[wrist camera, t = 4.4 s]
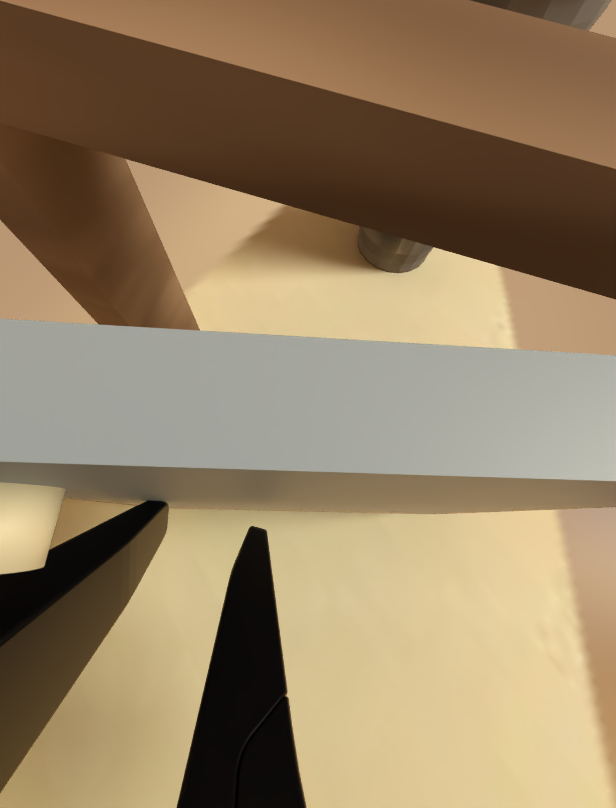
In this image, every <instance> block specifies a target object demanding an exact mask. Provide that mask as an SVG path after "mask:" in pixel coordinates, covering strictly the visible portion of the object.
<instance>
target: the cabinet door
mask: <svg viewBox="0 0 616 808" xmlns="http://www.w3.org/2000/svg"><path fill="white" fill-rule="evenodd" d="M63 498H70V499H80V500H90V501H100V502H110V503H120V504H129V505H139V504H141V503H143V502H145V501H147V500H150V501H163V502H166V503H168V505H169V508H191V509H233V510H276V511H318V512H361V513H404V514H449V513H474V512H500V511H526V510H552V509H577V508H602V507H616V355H601V354H584V353H568V352H551V351H534V350H517V349H500V348H484V347H467V346H450V345H433V344H416V343H400V342H383V341H366V340H349V339H332V338H316V337H299V336H282V335H265V334H248V333H232V332H215V331H198V330H181V329H165V328H148V327H131V326H114V325H97V324H79V323H63V322H46V321H29V320H13V319H0V574H8V573H16V572H23V571H30V570H35V569H39V568H42V567H44V566H45V562H46V558H47V555H48V551H49V548H50V544H51V541H52V537H53V534H54V530H55V527H56V523H57V520H58V516H59V513H60V509H61V506H62V502H63Z"/></svg>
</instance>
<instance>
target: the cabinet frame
mask: <svg viewBox="0 0 616 808" xmlns="http://www.w3.org/2000/svg"><path fill="white" fill-rule="evenodd" d="M125 159H128V160H131V161H135V162H138V163H142V164H146V165H149V166H152V167H156V168H159V169H163V170H167V171H170V172H173V173H177V174H181V175H184V176H187V177H191V178H194V179H198V180H201V181H205V182H208V183H212V184H215V185H219V186H222V187H226V188H229V189H233V190H236V191H240V192H243V193H247V194H250V195H254V196H257V197H261V198H264V199H268V200H271V201H274V202H278V203H281V204H285V205H288V206H292V207H295V208H299V209H302V210H306V211H309V212H313V213H316V214H320V215H323V216H327V217H330V218H334V219H337V220H341V221H344V222H348V223H351V224H355V225H358V226H362V227H365V228H369V229H372V230H376V231H379V232H383V233H386V234H390V235H393V236H397V237H400V238H404V239H407V240H411V241H414V242H418V243H421V244H425V245H428V246H431V247H435V248H438V249H442V250H445V251H449V252H452V253H456V254H459V255H463V256H466V257H470V258H473V259H477V260H480V261H484V262H487V263H491V264H494V265H498V266H501V267H505V268H509V269H512V270H515V271H519V272H522V273H526V274H529V275H533V276H536V277H540V278H543V279H547V280H550V281H554V282H557V283H561V284H564V285H568V286H571V287H575V288H578V289H582V290H585V291H588V292H592V293H596V294H599V295H602V296H606V297H609V298H613V299H616V38H613V37H609V36H605V35H601V34H598V33H594V32H590V31H586V30H582V29H578V28H574V27H571V26H567V25H563V24H559V23H555V22H551V21H547V20H544V19H540V18H536V17H532V16H528V15H524V14H521V13H517V12H513V11H509V10H505V9H501V8H497V7H494V6H490V5H486V4H482V3H478V2H474V1H471V0H0V220H1V221H2V222H3V223H4V224H5V225H6V226H7V227H8V228H9V229H10V231H11V232H12V233H13V234H14V235H15V236H16V237H17V238H18V239H19V240H20V241H21V242H22V243H23V244H24V245H25V246H26V248H27V249H28V250H29V251H30V252H31V253H32V254H33V255H34V256H35V257H36V258H37V259H38V260H39V261H40V262H41V263H42V265H43V266H44V267H45V268H46V269H47V270H48V271H49V272H50V273H51V274H52V275H53V276H54V277H55V278H56V279H57V281H58V282H59V283H61V285H62V286H63V287H64V288H65V289H66V290H67V291H68V292H69V293H70V294H71V295H72V296H73V298H74V299H75V300H76V301H77V302H78V303H79V304H80V305H81V306H82V307H83V308H84V309H85V310H86V311H87V312H88V314H90V315H91V317H92V318H93V319H94V320H95V321H96V322H97V323H98V324H99V325H114V326H131V327H148V328H165V329H181V330H198V331H200V329H199V327H198V325H197V322H196V320H195V318H194V316H193V313H192V311H191V309H190V306H189V304H188V302H187V299H186V297H185V295H184V293H183V290H182V288H181V286H180V283H179V281H178V279H177V277H176V274H175V272H174V270H173V267H172V265H171V263H170V260H169V258H168V256H167V254H166V251H165V249H164V247H163V244H162V242H161V240H160V238H159V235H158V233H157V231H156V229H155V226H154V224H153V221H152V219H151V217H150V215H149V212H148V210H147V208H146V205H145V203H144V201H143V199H142V196H141V194H140V192H139V189H138V187H137V185H136V183H135V180H134V178H133V176H132V173H131V171H130V169H129V166H128V164H127V162H126V160H125Z"/></svg>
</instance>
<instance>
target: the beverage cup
mask: <svg viewBox="0 0 616 808" xmlns="http://www.w3.org/2000/svg"><path fill="white" fill-rule="evenodd" d="M471 1H474V2H478V3H482V4H486V5H490V6H494V7H497V8H501V9H505V10H509V11H513V12H517V13H521V14H524V15H528V16H532V17H536V18H540V19H544V20H547V21H551V22H555V23H559V24H563V25H567V26H571V27H574V28H578V29H582V30H586V31H589V30H590V28H591V27H592V26H593V25H594V23H595V22H596V21H597V19H598V18H599V17H600V16H601V14H602V13H603V12H604V10H605V9H606V8H607V7H608V5H609V3H610V2H611V0H471ZM358 246H359V249H360V252H361V254H362V255H363V256H364V257H365V259H366V260H367V261H368V262H370V263H371V264H373V265H374V266H375V267H377V268H380V269H382V270H385V271H388V272H396V273H401V272H408V271H411V270H413V269H415V268H417V267H419V266H420V265H421V264H422V263H423V262H424V260H425V258H426V256H427V255H428V253H429V252H430V251H431V250H432V248H433V247H431V246H428V245H425V244H421V243H418V242H414V241H411V240H407V239H404V238H400V237H397V236H393V235H390V234H386V233H383V232H379V231H376V230H372V229H369V228H365V227H362V226H360V231H359V235H358Z"/></svg>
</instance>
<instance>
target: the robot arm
mask: <svg viewBox="0 0 616 808" xmlns="http://www.w3.org/2000/svg"><path fill="white" fill-rule="evenodd" d="M168 512H169V505H168V503H166V502H163V501H150V500H147V501H145V502H143V503H141V504H139V505H137V506H135V507H133V508H131V509H129V510H127V511H125V512H123V513H121V514H119V515H117V516H115V517H113V518H112V519H110V520H108V521H106V522H104V523H102V524H100V525H98V526H96V527H94V528H92V529H90V530H88V531H86V532H84V533H82V534H80V535H78V536H76V537H74V538H72V539H70V540H68V541H66V542H64V543H62V544H60V545H58V546H56V547H54V548H52V549H50V550H49V551H48V555H47V558H46V562H45V566H44V567H42V568H39V569H35V570H30V571H23V572H16V573H8V574H0V793H1V791H2V790H3V788H4V787H5V785H6V784H7V782H8V781H9V779H10V778H11V776H12V775H13V773H14V772H15V771H16V769H17V768H18V766H19V765H20V763H21V762H22V760H23V759H24V757H25V756H26V754H27V753H28V751H29V750H30V748H31V747H32V745H33V744H34V742H35V741H36V739H37V738H38V736H39V735H40V733H41V732H42V730H43V729H44V727H45V726H46V724H47V723H48V721H49V720H50V719H51V717H52V716H53V714H54V713H55V711H56V710H57V708H58V707H59V705H60V704H61V702H62V701H63V699H64V698H65V696H66V695H67V693H68V692H69V690H70V689H71V687H72V686H73V684H74V683H75V681H76V680H77V678H78V677H79V675H80V674H81V672H82V671H83V669H84V668H85V667H86V665H87V664H88V662H89V661H90V659H91V658H92V656H93V655H94V653H95V652H96V650H97V649H98V647H99V646H100V644H101V643H102V641H103V640H104V638H105V637H106V635H107V634H108V632H109V631H110V629H111V628H112V626H113V625H114V623H115V622H116V620H117V619H118V617H119V616H120V615H121V613H122V611H123V610H124V608H125V607H126V605H127V604H128V602H129V600H130V599H131V597H132V595H133V593H134V592H135V590H136V588H137V586H138V584H139V582H140V581H141V579H142V577H143V575H144V573H145V571H146V569H147V568H148V566H149V564H150V562H151V560H152V558H153V557H154V555H155V553H156V551H157V549H158V547H159V546H160V544H161V542H162V540H163V538H164V536H165V534H166V530H167V523H168ZM286 695H287V684H286V676H285V669H284V661H283V653H282V645H281V638H280V630H279V622H278V614H277V607H276V599H275V591H274V583H273V576H272V568H271V560H270V552H269V545H268V537H267V532H266V530H265V529H262V528H258V527H254V526H251V527H250V528H249V530H248V532H247V534H246V537H245V539H244V541H243V544H242V546H241V549H240V551H239V553H238V556H237V558H236V560H235V563H234V565H233V568H232V571H231V575H230V578H229V582H228V587H227V591H226V595H225V600H224V604H223V608H222V613H221V617H220V621H219V626H218V630H217V634H216V639H215V643H214V647H213V652H212V656H211V661H210V665H209V669H208V674H207V678H206V682H205V687H204V691H203V695H202V700H201V704H200V708H199V713H198V717H197V721H196V726H195V730H194V734H193V739H192V743H191V747H190V752H189V756H188V760H187V765H186V769H185V773H184V778H183V782H182V787H181V791H180V795H179V800H178V804H177V808H306V803H305V798H304V793H303V788H302V783H301V778H300V773H299V767H298V760H297V754H296V747H295V741H294V734H293V728H292V721H291V713H290V705H289V698H288V697H287V696H286Z"/></svg>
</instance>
